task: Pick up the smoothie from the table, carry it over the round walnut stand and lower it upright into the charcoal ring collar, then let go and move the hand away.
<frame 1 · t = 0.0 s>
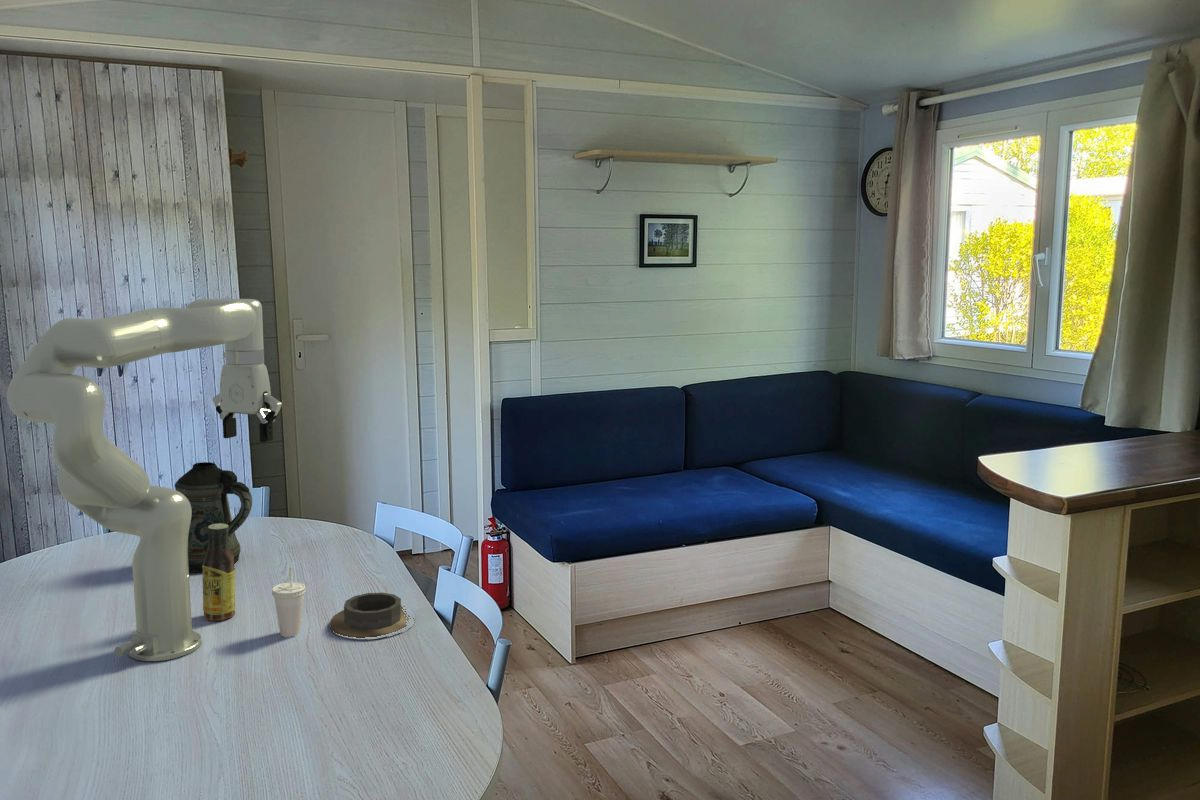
hand: (248, 439, 188), 37 cm above the table, tool pointing down, fingers open, 9 cm apart
beer stein: (211, 562, 221), on the table
smoothie: (290, 634, 179), on the table
holder: (373, 623, 185), on the table
sauce bottle: (220, 618, 187), on the table
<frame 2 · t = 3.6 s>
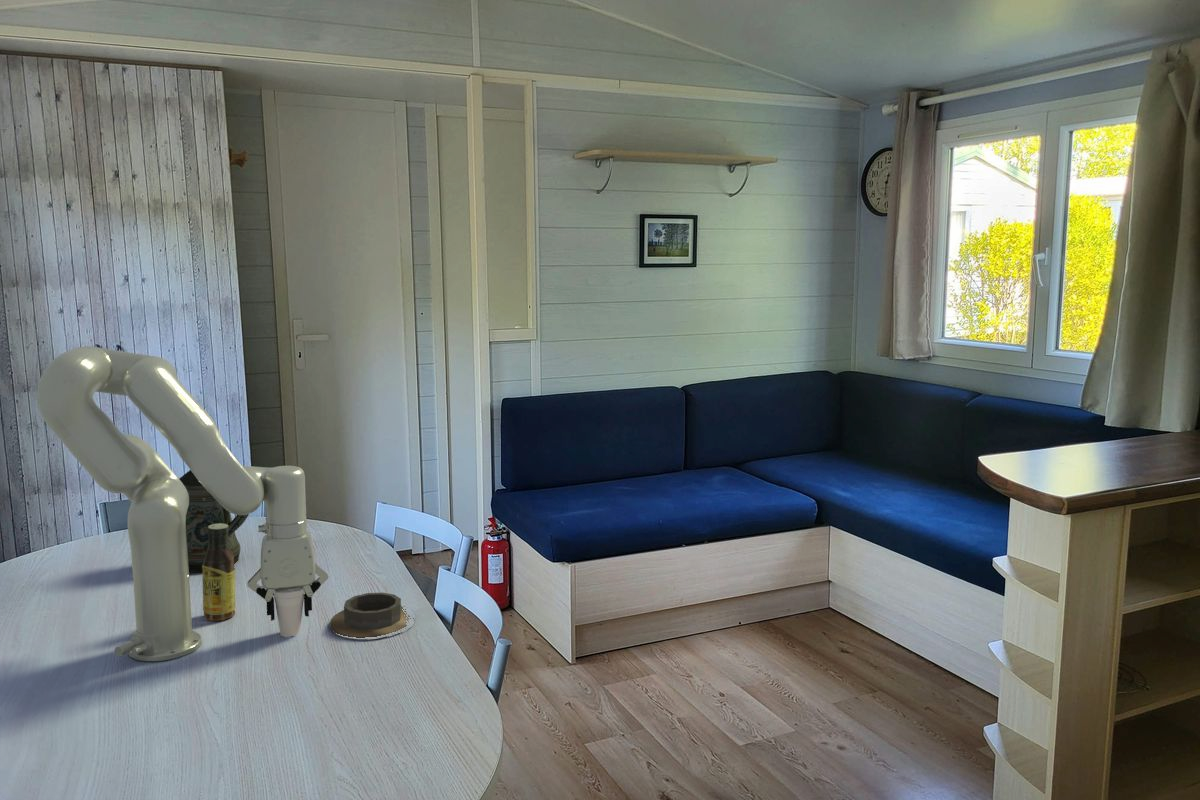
hand: (289, 615, 178), 4 cm above the table, tool pointing down, fingers closed on smoothie, 5 cm apart
smoothie: (290, 634, 179), on the table, touching gripper
everything else where it was.
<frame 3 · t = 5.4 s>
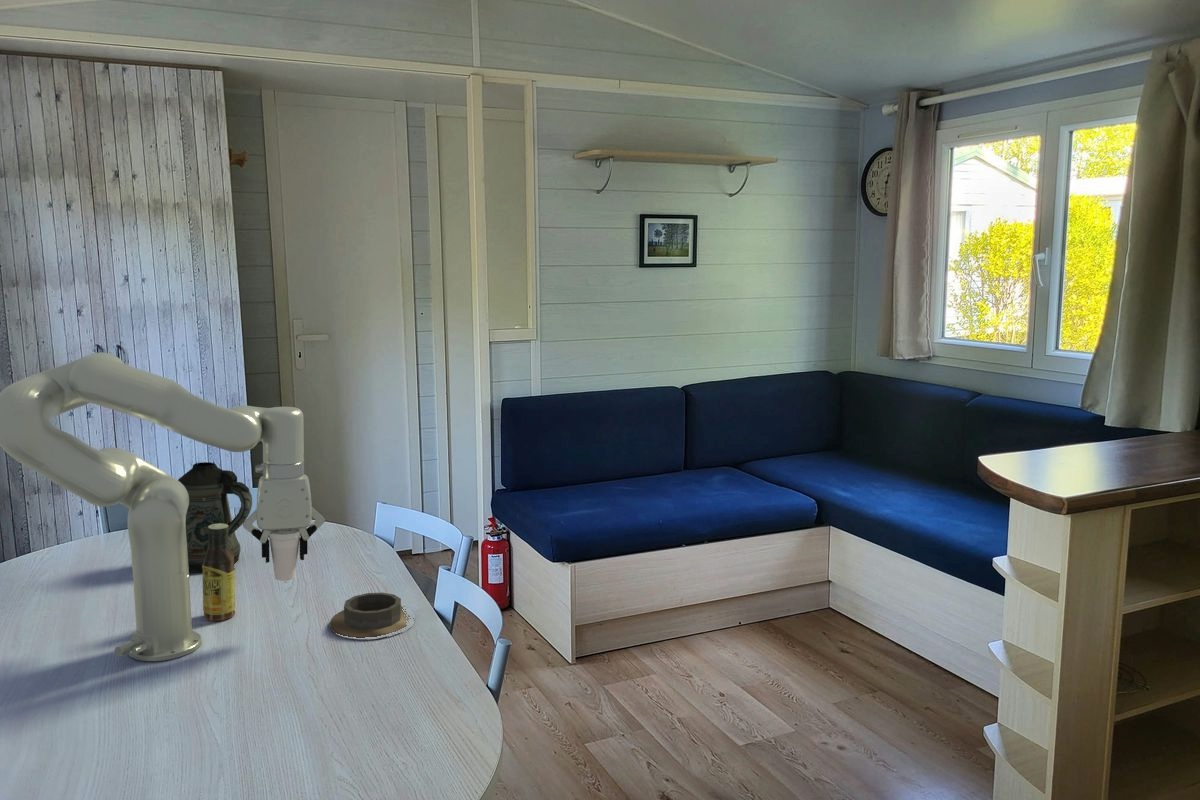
hand: (284, 558, 176), 16 cm above the table, tool pointing down, fingers closed on smoothie, 5 cm apart
smoothie: (284, 578, 177), point 12 cm above the table, touching gripper
everything else where it was.
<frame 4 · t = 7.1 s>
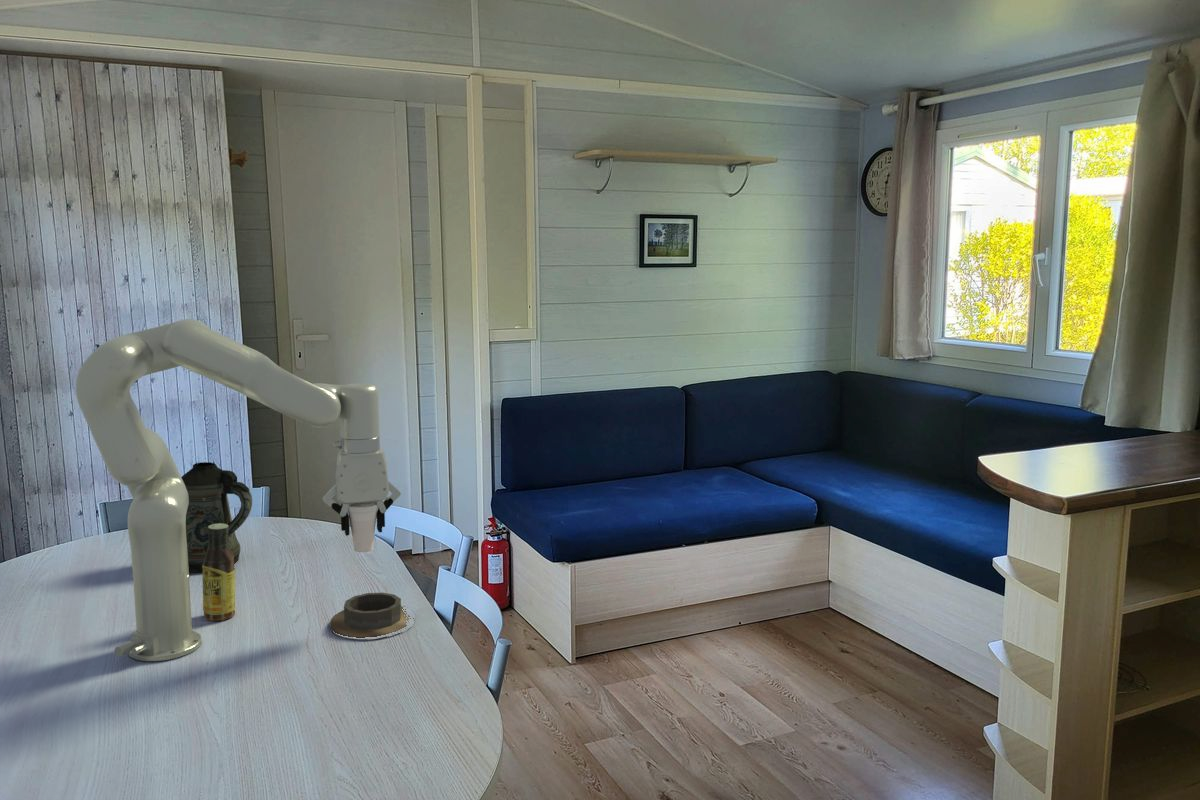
hand: (363, 531, 181), 20 cm above the table, tool pointing down, fingers closed on smoothie, 5 cm apart
smoothie: (363, 550, 182), point 16 cm above the table, touching gripper
everything else where it was.
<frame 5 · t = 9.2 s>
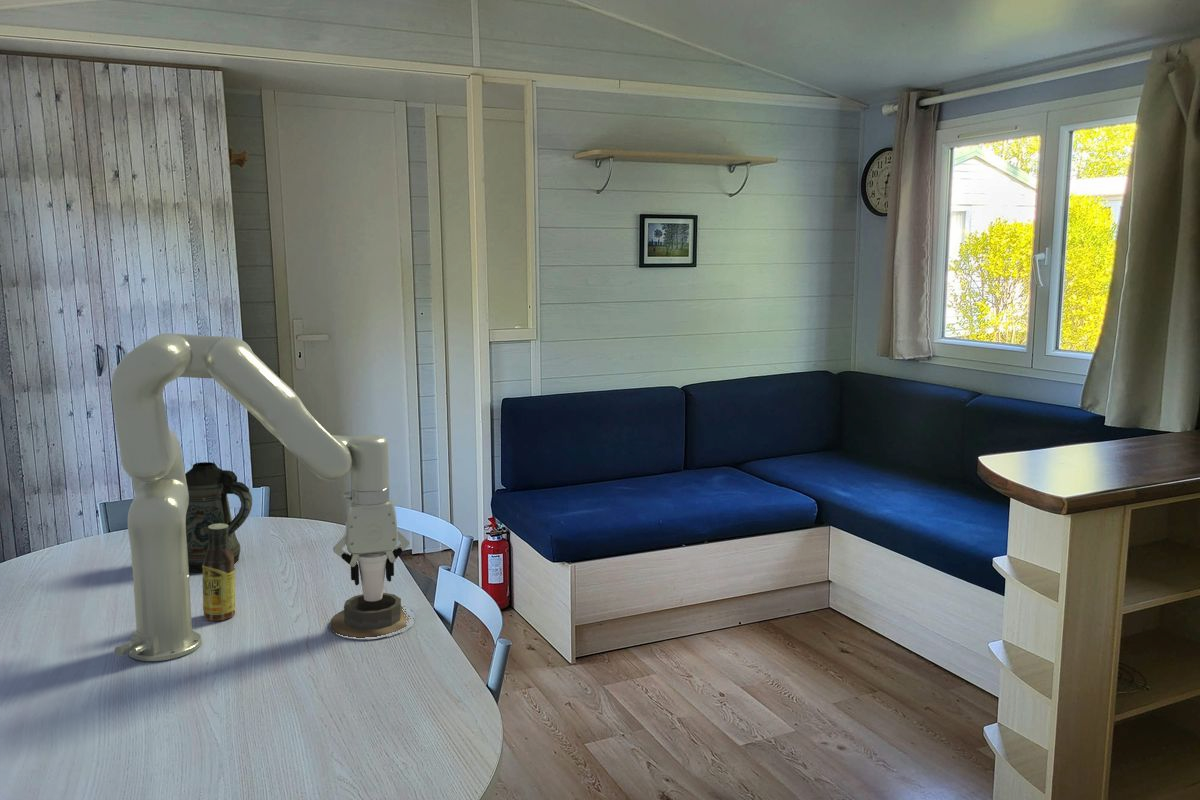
hand: (372, 580, 183), 9 cm above the table, tool pointing down, fingers closed on smoothie, 5 cm apart
smoothie: (373, 599, 184), point 5 cm above the table, touching gripper
everything else where it was.
when the fingers open (6 cm above the table, at t = 10.8 s): smoothie drops 1 cm, resting on holder.
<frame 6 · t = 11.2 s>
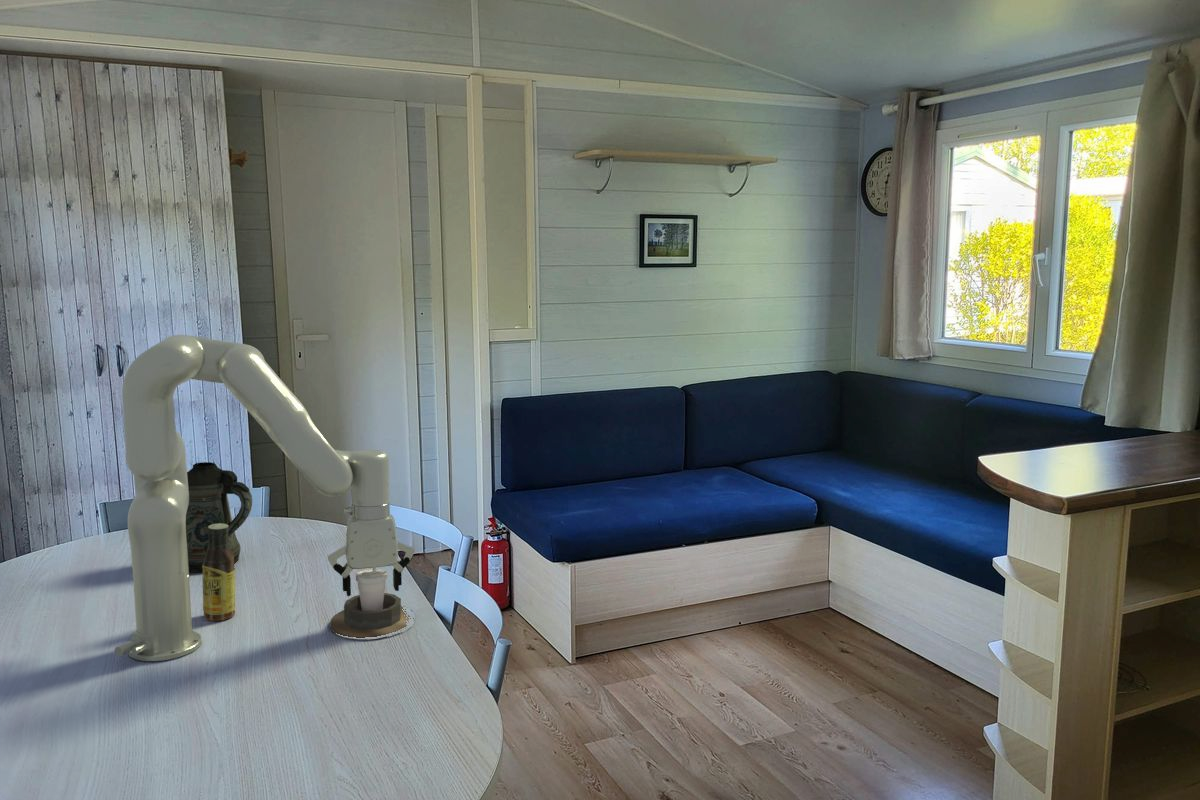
hand: (372, 591, 184), 7 cm above the table, tool pointing down, fingers open, 9 cm apart
smoothie: (372, 619, 185), point 1 cm above the table, touching holder
everything else where it was.
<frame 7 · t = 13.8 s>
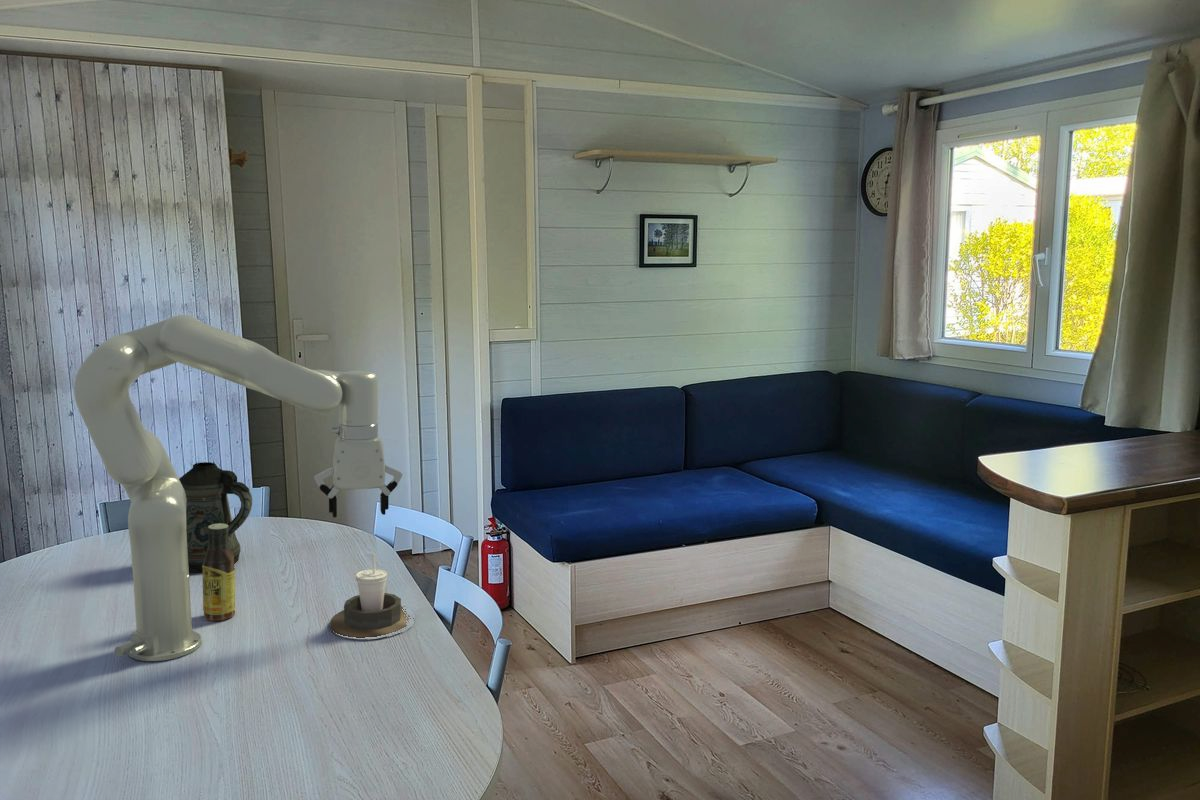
hand: (358, 514, 182), 23 cm above the table, tool pointing down, fingers open, 9 cm apart
nothing on the table moved.
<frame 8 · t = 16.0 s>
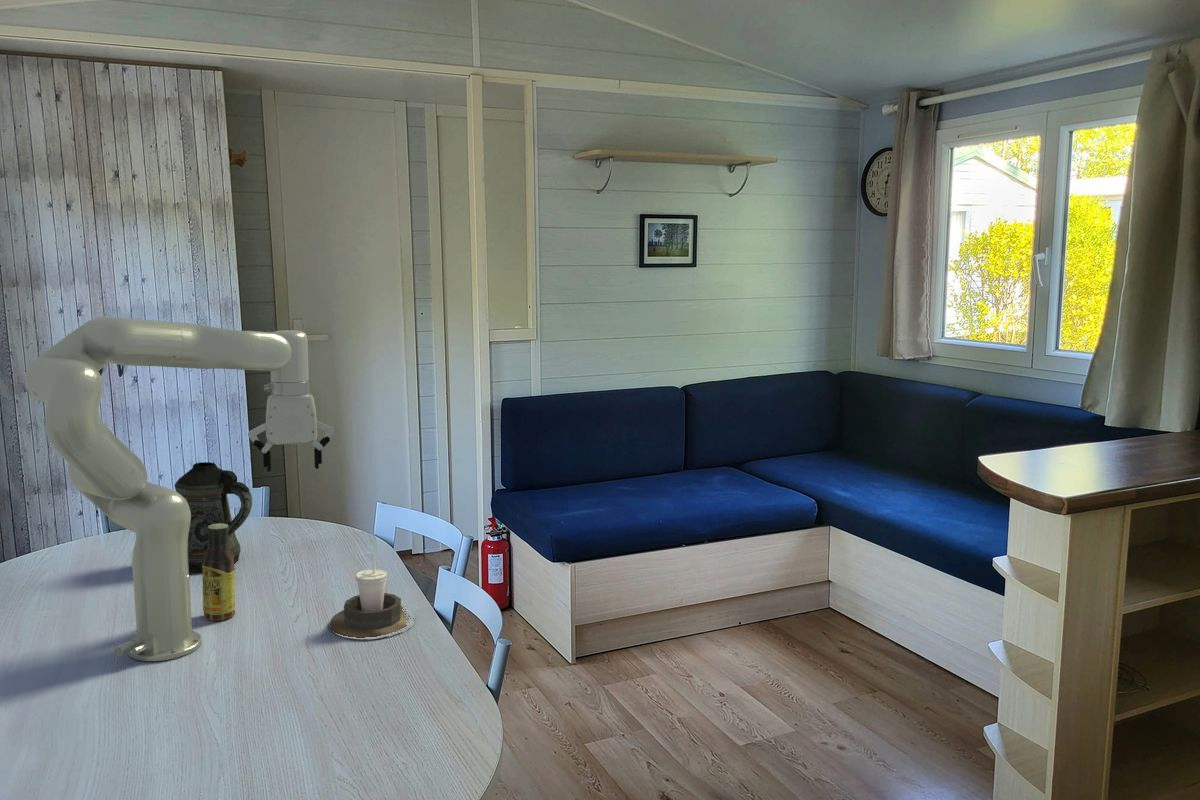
hand: (293, 468, 190), 30 cm above the table, tool pointing down, fingers open, 9 cm apart
nothing on the table moved.
at the end: smoothie 0.2 cm off-centre on the holder, point 0.8 cm above the holder's base; smoothie tilted 0° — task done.
